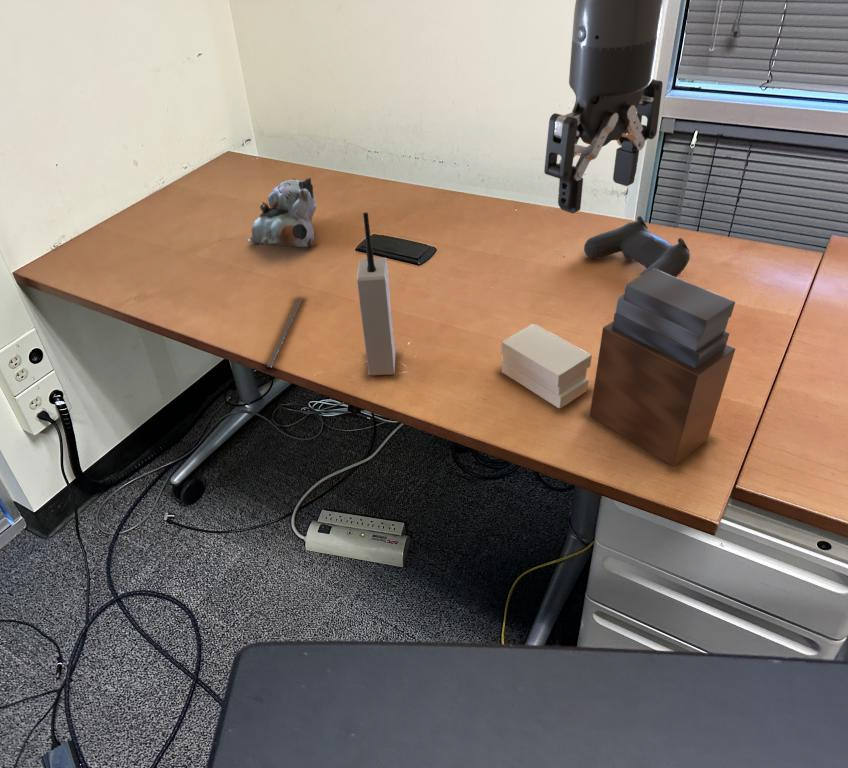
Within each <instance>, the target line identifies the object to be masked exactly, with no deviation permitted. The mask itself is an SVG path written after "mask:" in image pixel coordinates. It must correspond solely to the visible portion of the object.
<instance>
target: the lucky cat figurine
mask: <svg viewBox="0 0 848 768" xmlns="http://www.w3.org/2000/svg"><path fill="white" fill-rule="evenodd" d="M267 201H268V203H267V202H264V201H262V202H261V203H260V206H259V209H260V210H261V214H259V217H258V218H256V219H254V222H253V224H252V227H251V237H249V238H248V239H247V240H246V241H247V242H248V243H253V244H260V245H270V246H288V247H293V248H294V247H295V248H311V247H312V246H313V244H314V242H315V230H314V226H313V224H312V221H313V216H314V213H316V212H315V211H316V209H317V203H316V196H315V195H314V185H313V184H312V178H311V177H308V178H305V180H299V178H298V179H296V178H292V179H287V180H285V181H281V182H280V183H279V184H278V185H277V186H276V187H274V188H273V189H272V190H271V192H270V193H269V195H268V198H267Z"/></svg>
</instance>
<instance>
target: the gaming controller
mask: <svg viewBox="0 0 848 768" xmlns="http://www.w3.org/2000/svg"><path fill="white" fill-rule="evenodd" d="M636 220H637V221H631V222H627V223H626V224H624V225H621V226H620V227H618V228H614V229H611V230H608V231H605V232H602V233H600V234H597V235H593V236H591V237H590V238H588V239H587V240H586V241H585V243H584V245H583V251H584V254H585V255H586V256H587V257H589V258H590V259H595V260H596V259H601V258H605V257H607V256H610V255H613V254H617V253H621V252H622V254H623V256H624V258H626V259H628V260H630V261H635V262H637V263H639V264H640V265H641V266H643V267H645V270H643V272H642V273H641V274H640V275H639V277H640V276H641V275H643V274H645V273H646V272H648V271H650V270H652V269H653V268H654V269H657V270H659V271H661V272H664V273H666V274H669V275H671V276H674V277H676V278H678V276H679V275H680V274H681V273H682V272H683V271H684V269H685V268H686V267H687V265H688V263H689V262H690V258H691V254H690V249H689V248H688V246H687V244H686V242H685V240H684V239H683V238H682V237H679V238H678V239H677V244H674V245H672V244H671V243H669V242H667V241H666V240H665V239H663V238H661V237H659V236H657V235H655V234H653V233H651V232H650V231H649V228H648V225H647V224H646V223H645V222H646V221H644V218H643V217H642V216H641V215H639V216H637V218H636Z"/></svg>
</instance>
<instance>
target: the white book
mask: <svg viewBox="0 0 848 768" xmlns="http://www.w3.org/2000/svg"><path fill="white" fill-rule="evenodd" d="M500 345H501V346H500V349H501V350H500V353H501V354H502V356H503V355H505V356H507V357H508V358H510V359H512V360H513V361H515V362H517V363H518V364H520V365H522V366H523V367H525V368H527V369H528V370H530V371H531V372H533V373H535V374H536V375H538V376H540V377H541V378H543V379H545V380H546V381H548V382H550V383H551V384H553V385H555V386H556V387H559V386H561V385H562V384H564V383H565V382H567V381H569V380H570V379H572V378H573V377H575V376H576V375H578V374H580V373H581V372H583V371H584V370H586V369H587V370H588V369H589V368H591V365H592V358H593V355H592V353H590V352H587V351H585V350H583V349H582V348H580V347H579V346H576V345H574V344H573V343H571V342H569V341H568V340H566V339H564V338H563V337H560V336H558V335H556V334H554V333H553V332H551V331H549V330H547V329H545V328H543V327H542V326H540V325H538V324H536V323H532V324H530V325H528V326H526V327H524V328H523V329H520V330H519V331H518V332H516V333H514V334H512V335H511V336H509V337H507V338H505V339H504V340H502V341H501V344H500Z"/></svg>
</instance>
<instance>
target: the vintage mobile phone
mask: <svg viewBox="0 0 848 768" xmlns="http://www.w3.org/2000/svg"><path fill="white" fill-rule="evenodd" d="M362 216H363V217H362V218H363V225H364V234H365V235H364V236H365V244H366V245H365V252H366V258H360V259H359V263H358V268H357V269H358V270H357V276H356V284H357V293H358V302H359V306H360V307H359V308H360V316H361V324H362V331H363V340H364V347H365V356H366V357H365V358H366V363H367V364H366V365H367V371H368V376H393V375H395V369H396V368H395V367H396V346H395V340H394V329H393V318H392V309H391V297H390V296H391V295H390V293H391V292H390V280H389V268H388V259H387V257H375V258H374V250H373V245H372V240H371V239H372V238H371V230H370V220H369V212H363V213H362Z"/></svg>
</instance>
